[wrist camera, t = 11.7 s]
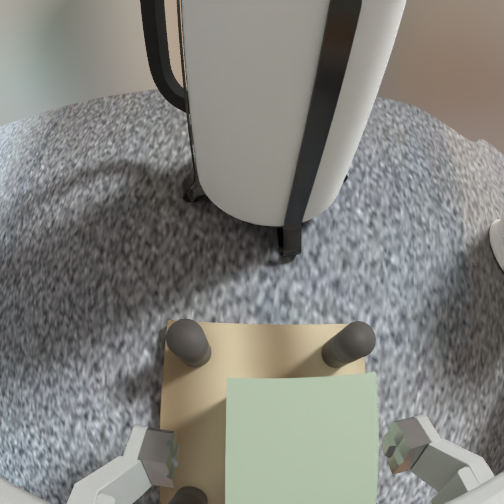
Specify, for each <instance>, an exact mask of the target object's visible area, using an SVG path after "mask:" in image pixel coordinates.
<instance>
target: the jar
mask: <svg viewBox="0 0 504 504" xmlns="http://www.w3.org/2000/svg"><path fill="white" fill-rule="evenodd" d="M489 236H490V243H491V247H492V250H493V253H494V255H495V257H496V260H497V262H498V263H499V265H500V267H501V268H502V270H503V271H504V210H503V213H502V217H501V219H498V220H496V221H494V222H493V223H492V224H491V226H490V231H489Z"/></svg>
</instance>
